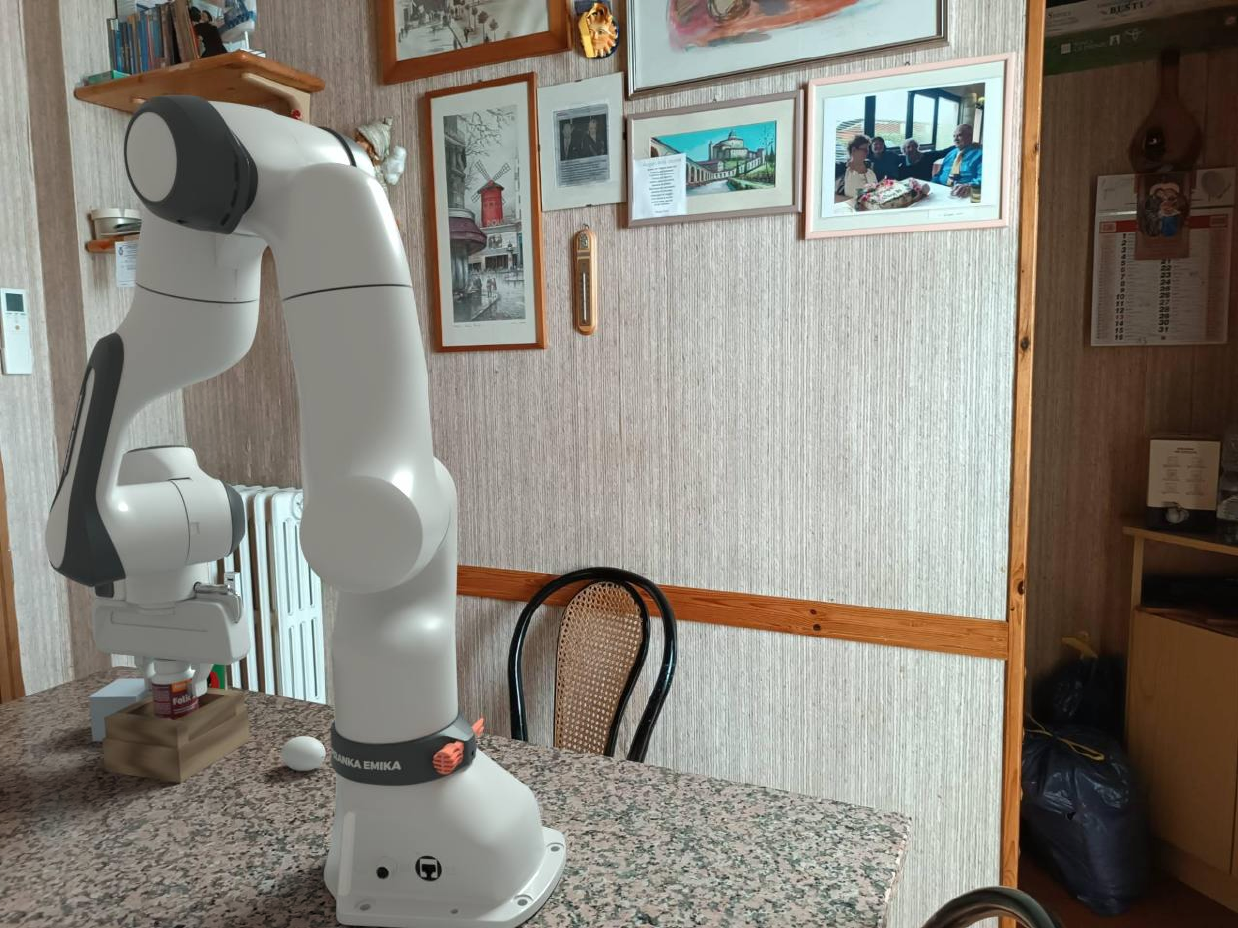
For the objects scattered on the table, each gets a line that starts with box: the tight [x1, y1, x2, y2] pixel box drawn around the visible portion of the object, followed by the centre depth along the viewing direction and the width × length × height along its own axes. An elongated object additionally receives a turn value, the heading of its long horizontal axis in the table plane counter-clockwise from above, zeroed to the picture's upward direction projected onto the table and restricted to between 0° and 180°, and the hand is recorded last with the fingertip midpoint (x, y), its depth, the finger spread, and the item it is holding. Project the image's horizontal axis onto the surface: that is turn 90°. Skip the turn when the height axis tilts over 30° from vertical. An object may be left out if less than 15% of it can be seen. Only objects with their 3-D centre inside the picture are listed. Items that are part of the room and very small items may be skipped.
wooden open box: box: [101, 688, 251, 784], centre depth 97 cm, size 11×11×6 cm
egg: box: [281, 735, 326, 772], centre depth 94 cm, size 4×6×4 cm, turn 72°
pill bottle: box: [151, 658, 199, 720], centre depth 96 cm, size 5×5×8 cm
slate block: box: [88, 677, 153, 742], centre depth 104 cm, size 6×6×6 cm
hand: (176, 692), depth 97 cm, fingers closed on pill bottle, 5 cm apart
